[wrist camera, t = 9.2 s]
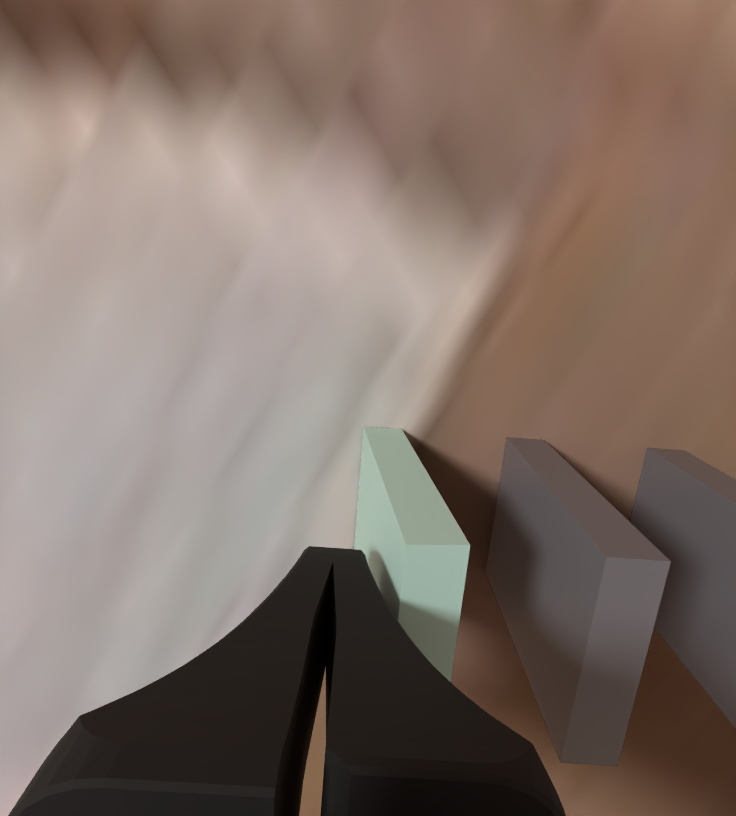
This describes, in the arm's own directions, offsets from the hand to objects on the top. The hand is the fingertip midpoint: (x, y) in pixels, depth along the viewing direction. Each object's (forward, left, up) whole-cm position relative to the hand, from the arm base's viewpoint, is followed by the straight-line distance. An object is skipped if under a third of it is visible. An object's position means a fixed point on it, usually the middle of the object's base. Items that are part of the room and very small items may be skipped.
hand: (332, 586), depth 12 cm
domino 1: (-5, -3, -5) cm, 7 cm away
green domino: (-1, -1, -5) cm, 5 cm away
